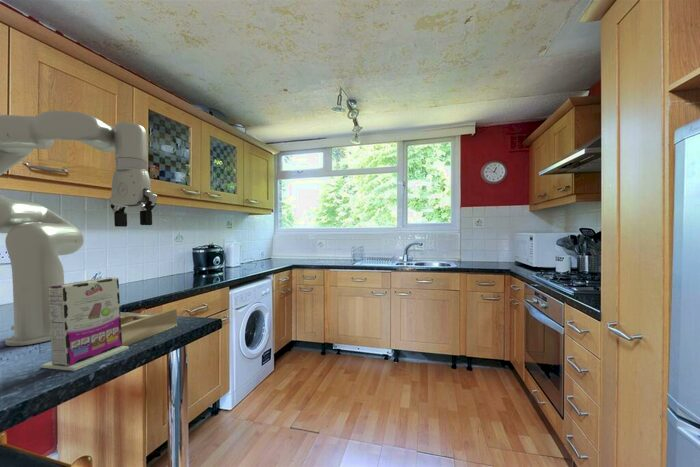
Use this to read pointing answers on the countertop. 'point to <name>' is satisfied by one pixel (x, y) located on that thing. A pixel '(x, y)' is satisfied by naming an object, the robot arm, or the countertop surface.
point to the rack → (147, 326)
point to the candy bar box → (84, 319)
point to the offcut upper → (126, 318)
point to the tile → (87, 360)
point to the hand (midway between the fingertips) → (133, 225)
